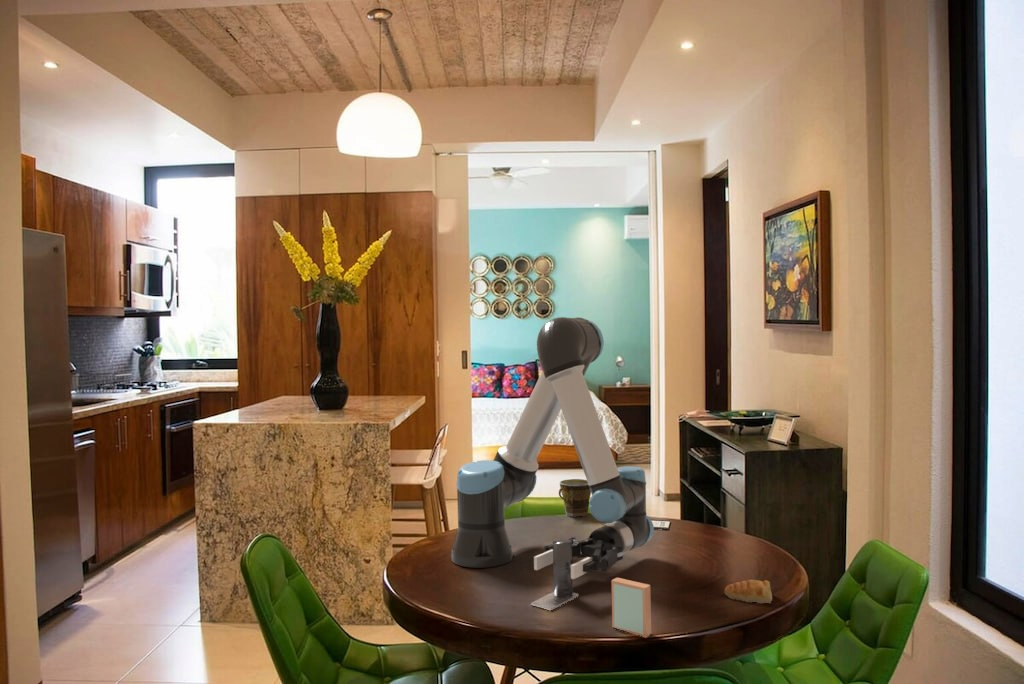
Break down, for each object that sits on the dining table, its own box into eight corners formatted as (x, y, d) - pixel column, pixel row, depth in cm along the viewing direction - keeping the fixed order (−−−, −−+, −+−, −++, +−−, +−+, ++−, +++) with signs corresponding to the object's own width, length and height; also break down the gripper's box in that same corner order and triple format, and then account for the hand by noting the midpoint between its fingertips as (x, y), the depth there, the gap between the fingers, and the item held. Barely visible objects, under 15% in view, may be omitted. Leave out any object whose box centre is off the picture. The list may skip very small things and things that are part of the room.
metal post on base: (530, 606, 143) (529, 549, 142) (559, 591, 150) (558, 537, 150) (550, 611, 139) (549, 553, 139) (578, 596, 147) (577, 541, 147)
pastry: (725, 602, 143) (725, 584, 143) (723, 591, 149) (722, 573, 149) (774, 605, 141) (774, 586, 141) (769, 593, 147) (769, 575, 147)
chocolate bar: (608, 517, 210) (669, 520, 204) (608, 520, 210) (670, 523, 204) (603, 525, 201) (667, 528, 196) (603, 528, 201) (667, 532, 196)
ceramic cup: (574, 509, 222) (573, 477, 222) (599, 514, 216) (598, 481, 215) (547, 517, 213) (546, 484, 213) (572, 522, 206) (572, 488, 206)
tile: (612, 628, 131) (611, 580, 131) (617, 624, 132) (616, 577, 132) (645, 637, 126) (644, 588, 126) (651, 634, 128) (650, 585, 128)
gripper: (652, 566, 155) (598, 597, 138) (572, 549, 169) (513, 575, 151) (651, 532, 155) (597, 559, 138) (571, 518, 169) (512, 541, 151)
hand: (553, 567), depth 145 cm, fingers open, 9 cm apart
